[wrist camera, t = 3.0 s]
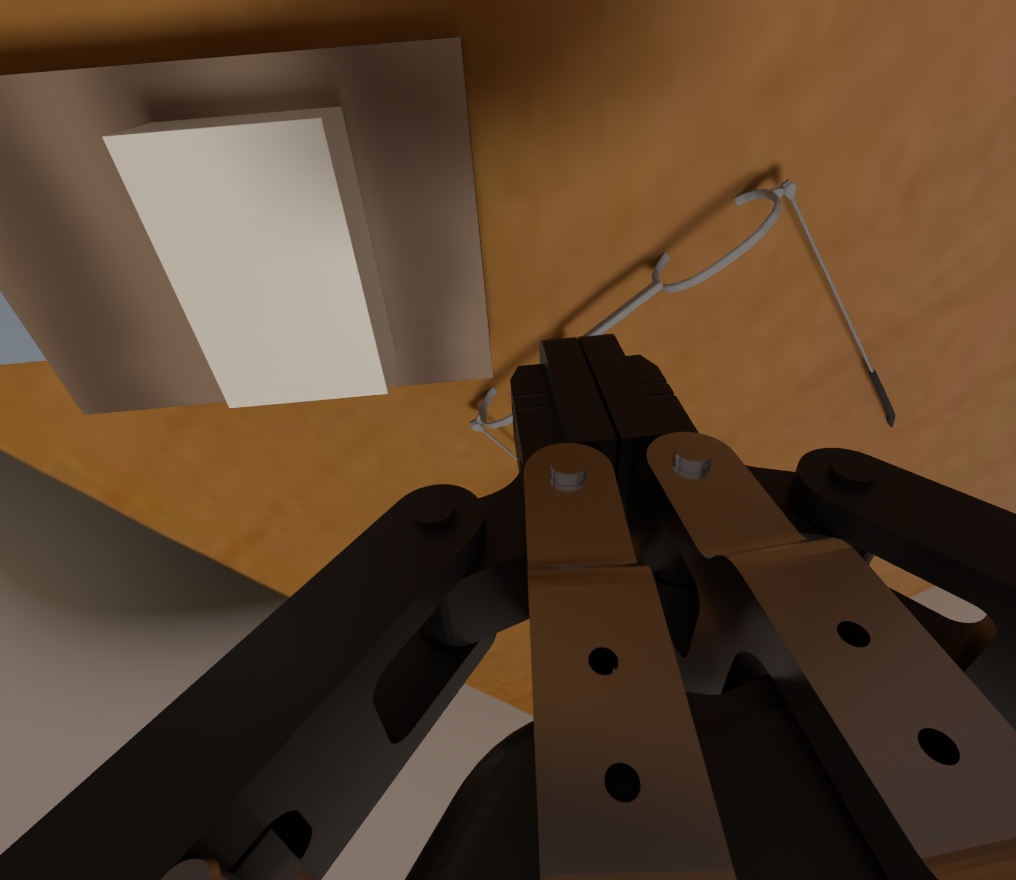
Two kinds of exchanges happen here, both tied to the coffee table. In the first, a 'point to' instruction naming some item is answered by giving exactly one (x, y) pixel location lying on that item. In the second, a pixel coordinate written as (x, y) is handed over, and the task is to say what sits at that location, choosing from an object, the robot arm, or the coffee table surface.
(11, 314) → the mat
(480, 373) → the brown flat block
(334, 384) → the cream rectangular block
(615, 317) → the eyeglasses
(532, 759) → the robot arm
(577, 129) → the coffee table surface
